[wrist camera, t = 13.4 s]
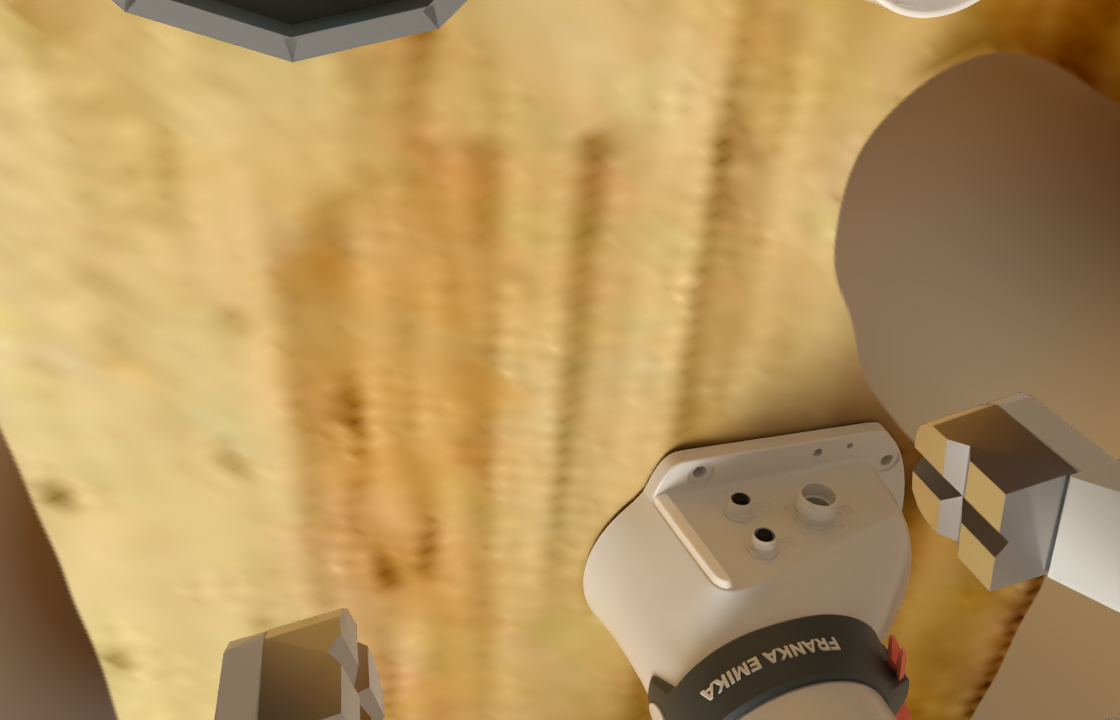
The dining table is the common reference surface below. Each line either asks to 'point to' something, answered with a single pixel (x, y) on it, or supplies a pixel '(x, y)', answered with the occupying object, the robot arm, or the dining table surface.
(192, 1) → the ring tray
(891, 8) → the white cup
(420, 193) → the dining table surface
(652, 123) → the dining table surface
